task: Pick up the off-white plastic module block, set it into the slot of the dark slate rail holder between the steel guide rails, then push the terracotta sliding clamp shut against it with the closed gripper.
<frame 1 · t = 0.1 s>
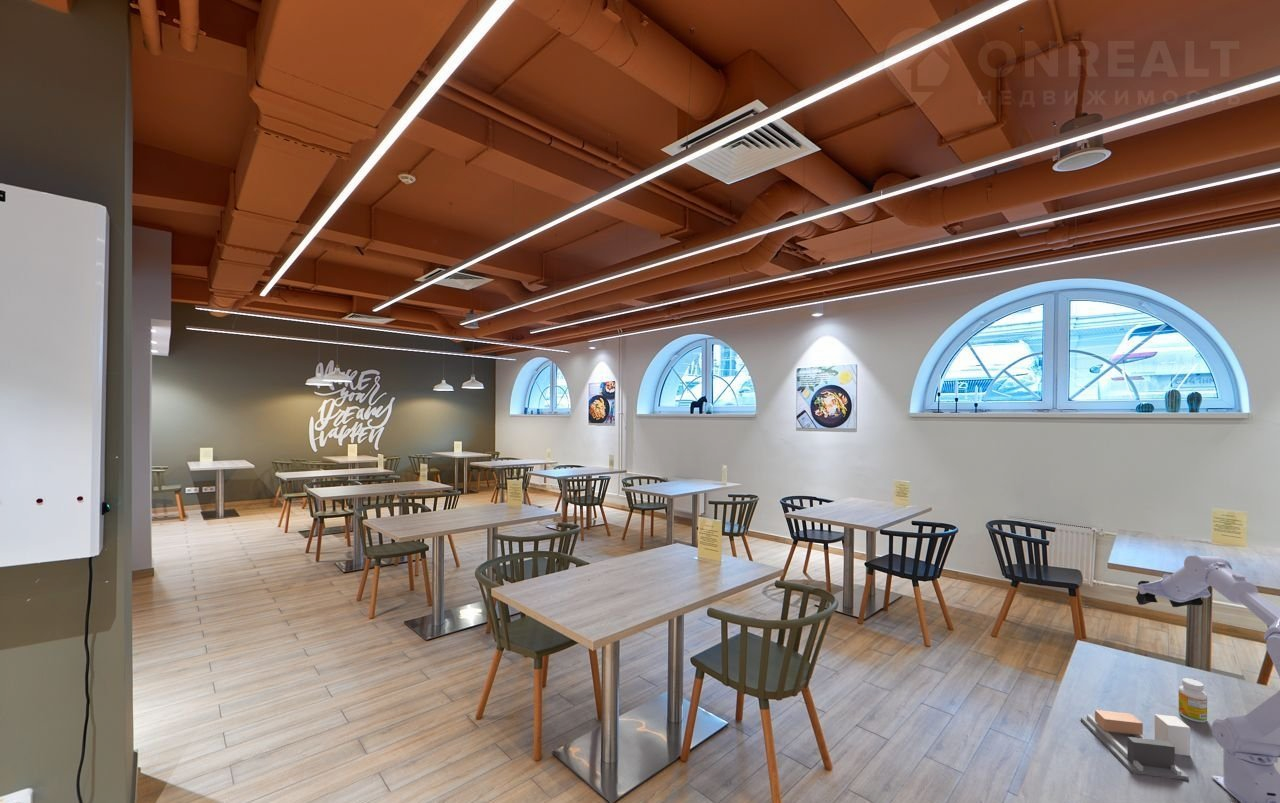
hand: (1155, 602, 142), 32 cm above the table, tool tilted 50°, fingers open, 7 cm apart
module: (1171, 748, 130), on the table
clamp: (1118, 722, 135), point 4 cm above the table, slide at 3.0 cm
rail holder: (1130, 747, 131), on the table
supplement bottle: (1192, 717, 142), on the table
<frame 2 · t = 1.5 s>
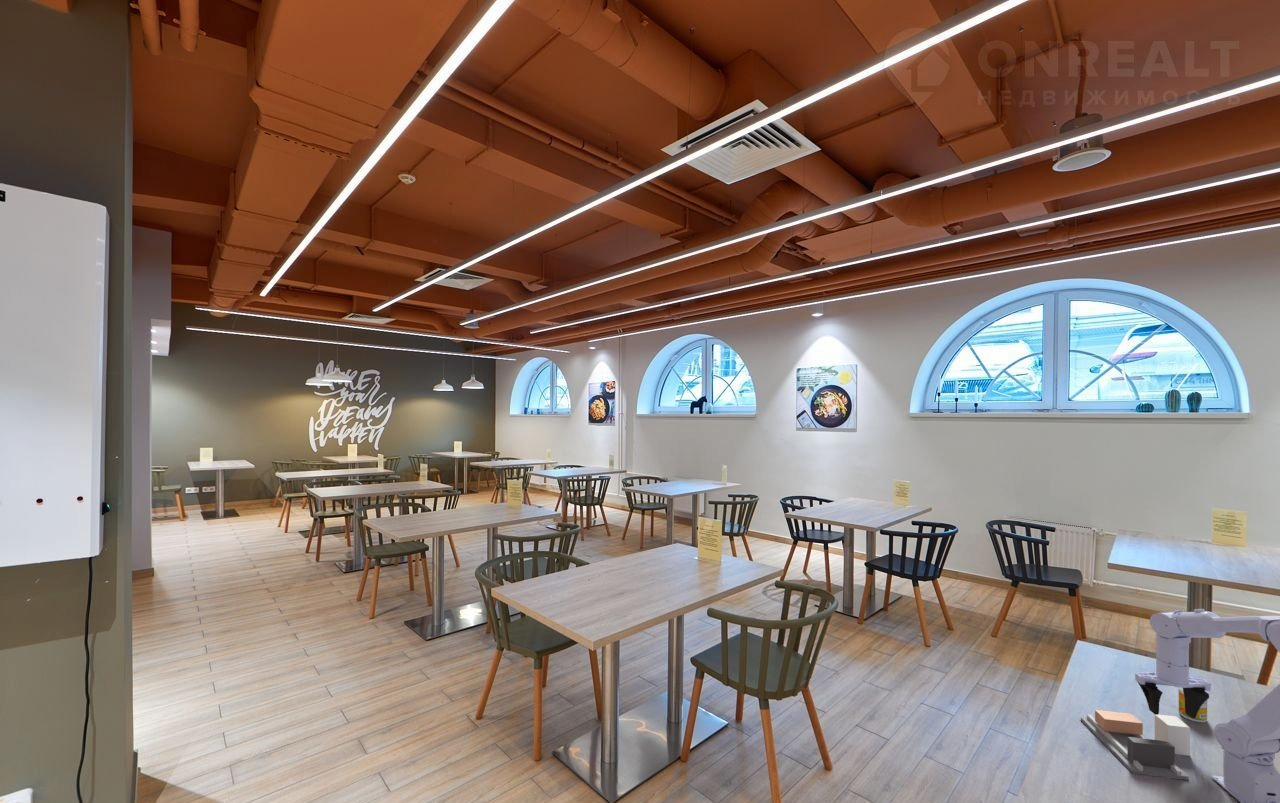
hand: (1171, 714, 130), 9 cm above the table, tool pointing down, fingers open, 7 cm apart
nothing on the table moved.
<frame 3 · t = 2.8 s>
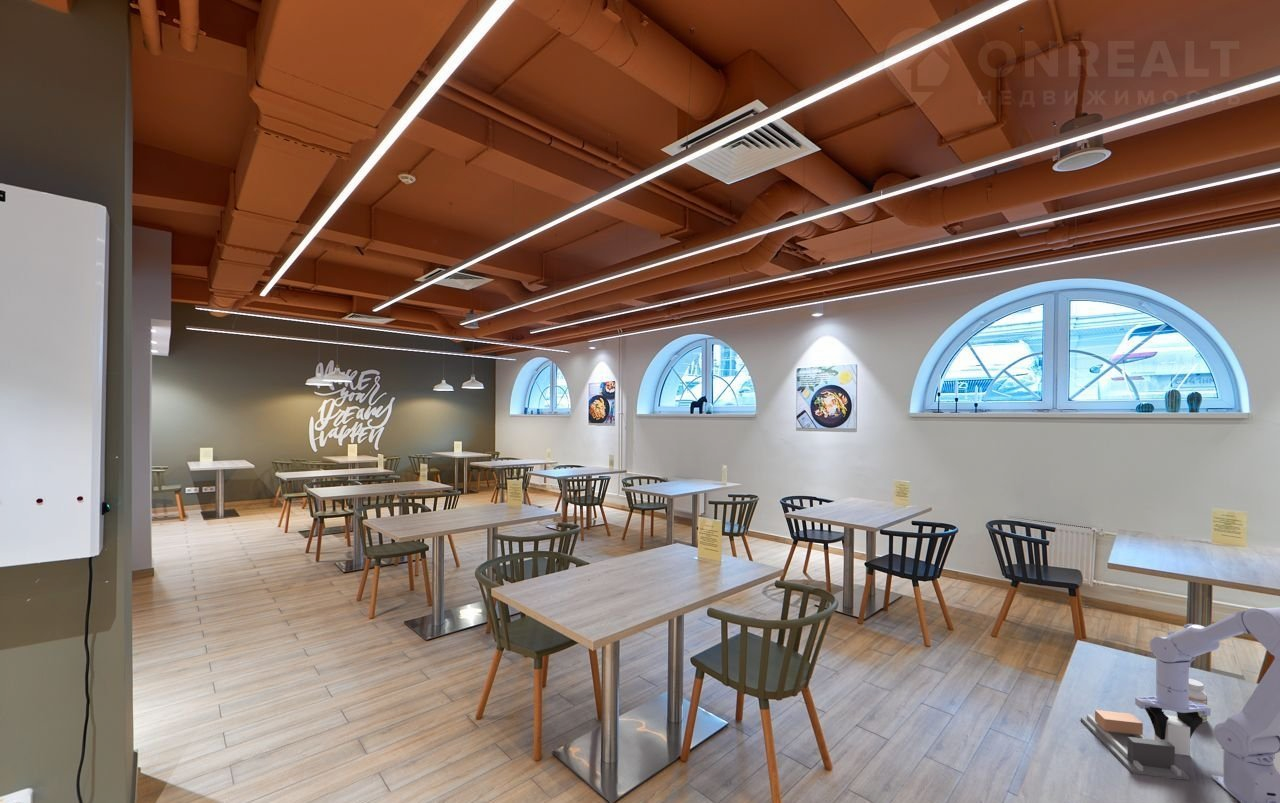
hand: (1171, 738, 130), 2 cm above the table, tool pointing down, fingers closed on module, 4 cm apart
module: (1171, 748, 130), on the table, touching gripper
everything else where it was.
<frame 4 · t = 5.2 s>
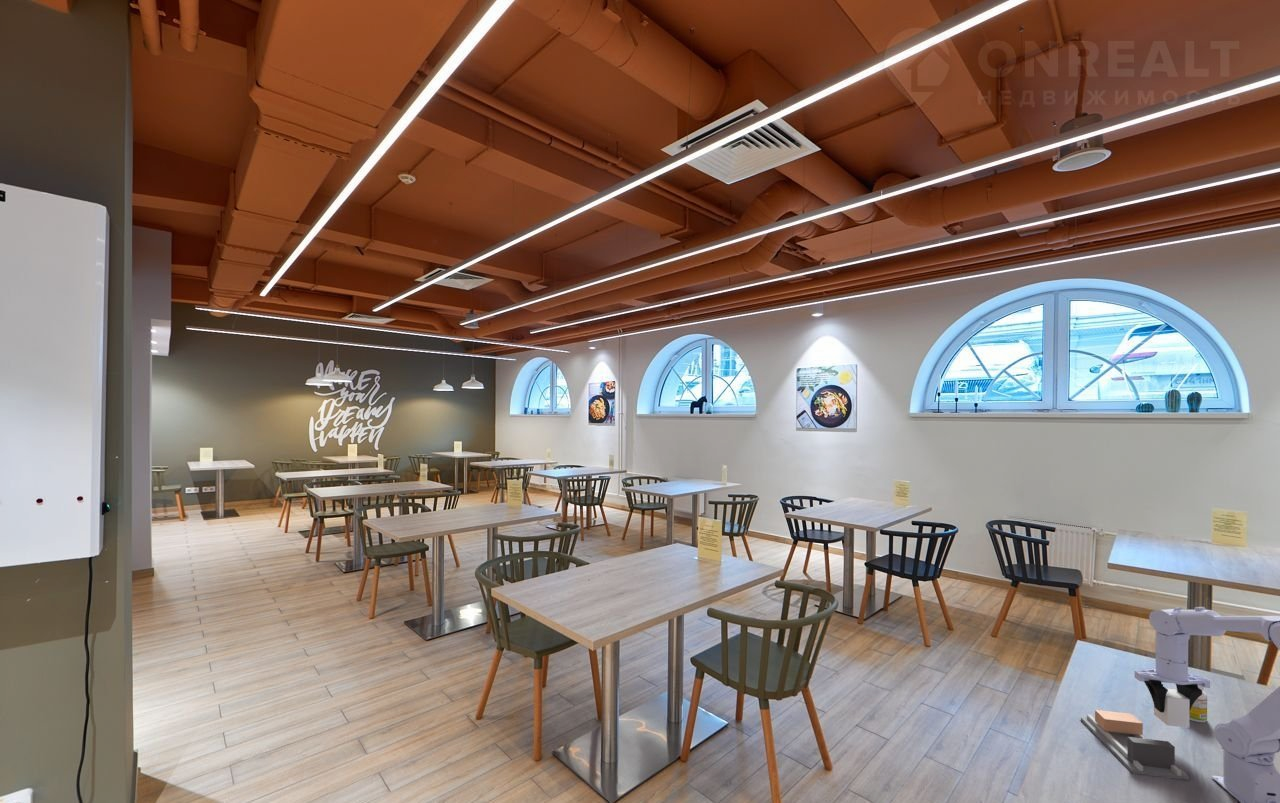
hand: (1171, 711, 130), 9 cm above the table, tool pointing down, fingers closed on module, 4 cm apart
module: (1171, 720, 130), point 7 cm above the table, touching gripper
everything else where it was.
when the fingers open (5 cm above the table, at t = 7.8 s): module drops 1 cm, resting on rail holder.
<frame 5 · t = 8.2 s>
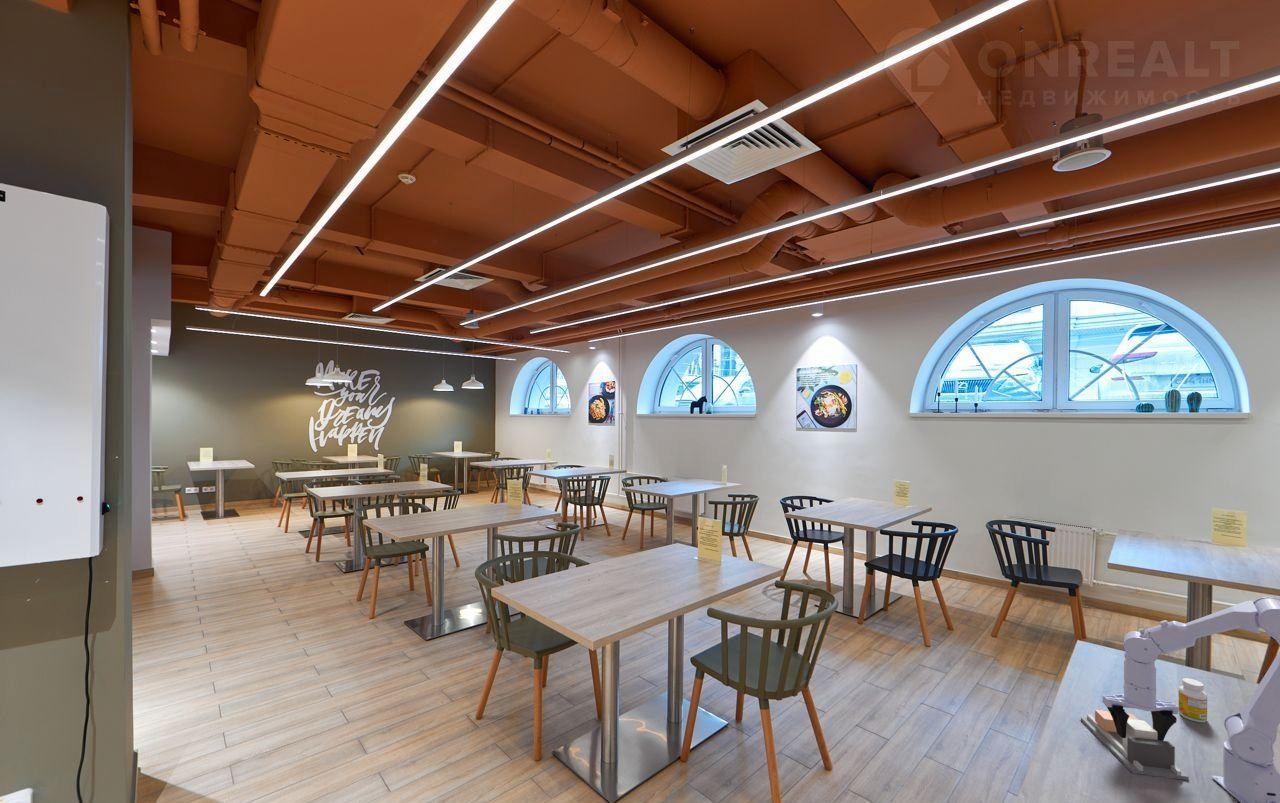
hand: (1139, 737, 127), 5 cm above the table, tool pointing down, fingers open, 7 cm apart
module: (1139, 753, 127), point 1 cm above the table, touching rail holder
everything else where it was.
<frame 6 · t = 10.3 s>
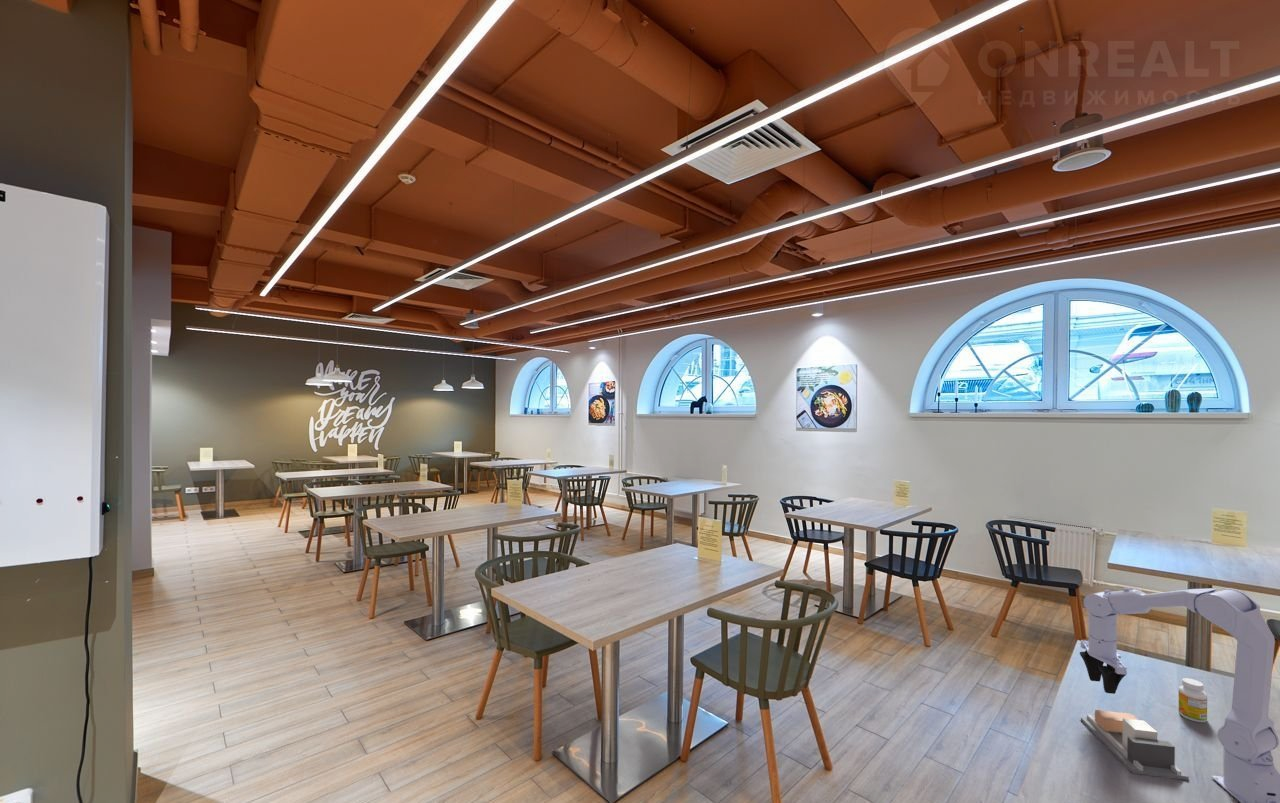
hand: (1102, 686, 141), 9 cm above the table, tool pointing down, fingers open, 5 cm apart
nothing on the table moved.
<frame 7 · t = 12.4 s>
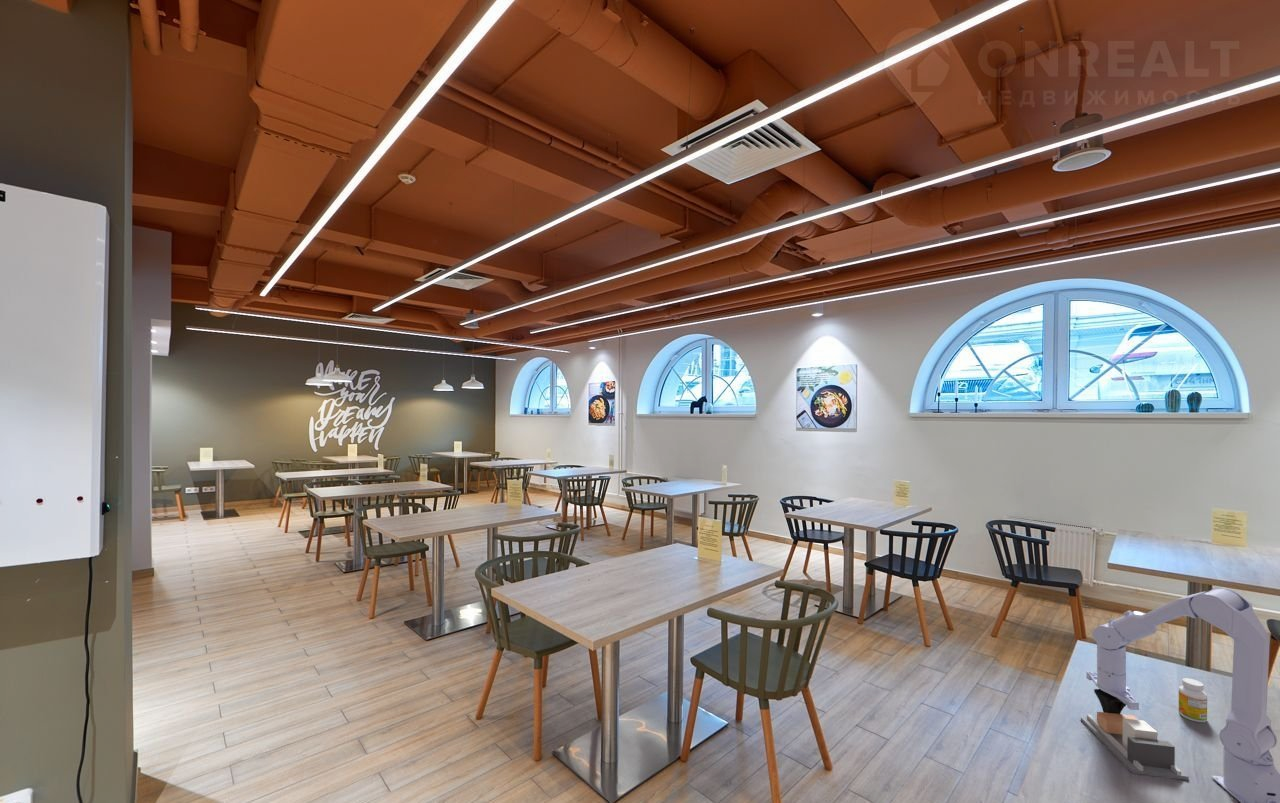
hand: (1111, 720, 138), 2 cm above the table, tool pointing down, fingers closed
clamp: (1120, 724, 134), point 4 cm above the table, slide at 2.2 cm, touching gripper
everything else where it was.
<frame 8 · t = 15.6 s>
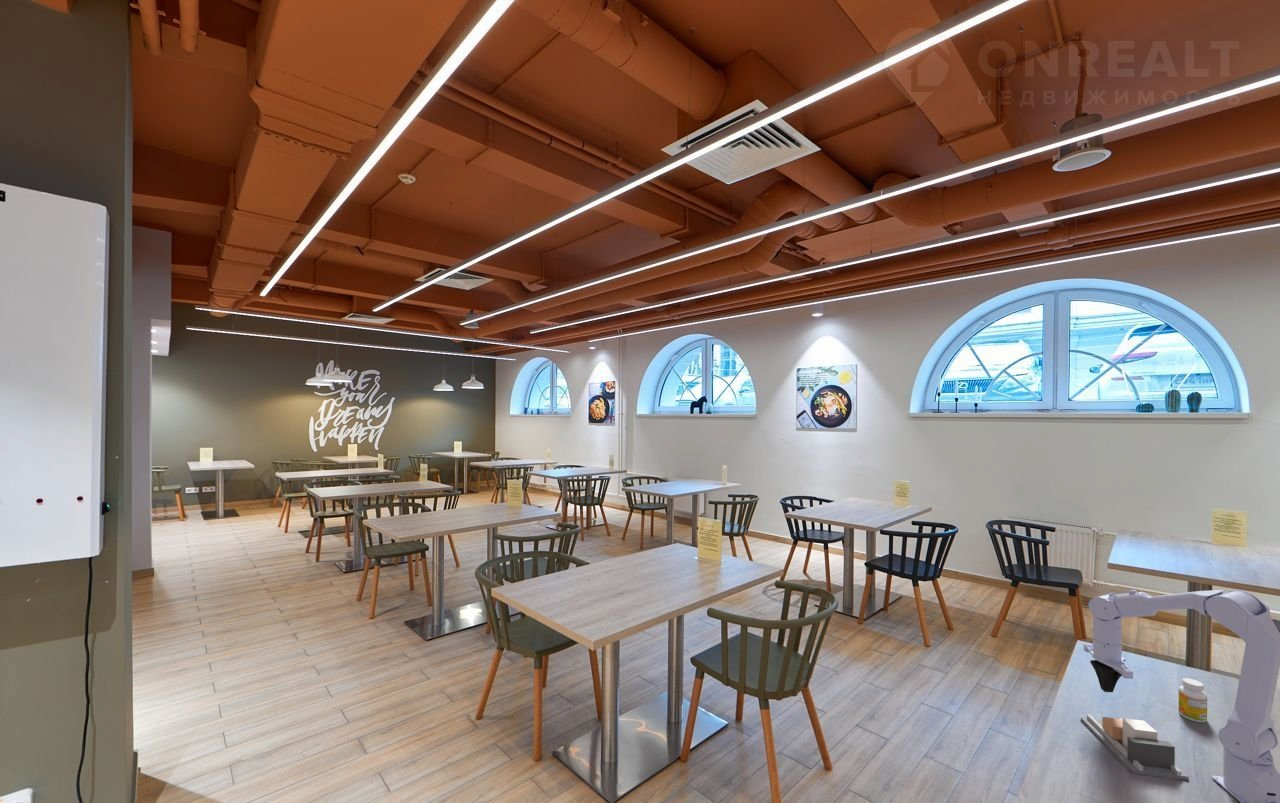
hand: (1107, 690, 139), 9 cm above the table, tool pointing down, fingers closed
clamp: (1126, 729, 132), point 4 cm above the table, slide at 0.0 cm
everything else where it was.
at the end: module 0.1 cm from the target spot on the rail holder, point 0.8 cm above the rail holder's base; module tilted 0°; clamp slide at 0.0 cm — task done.
